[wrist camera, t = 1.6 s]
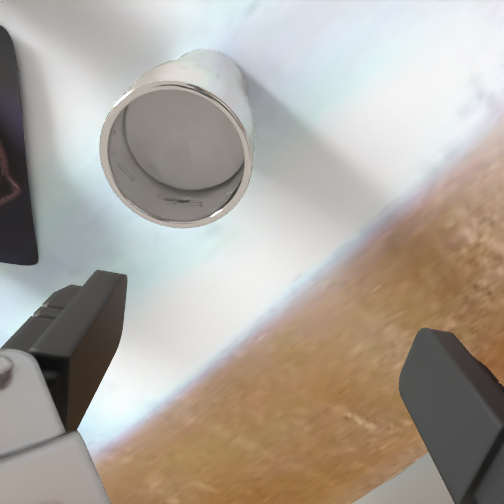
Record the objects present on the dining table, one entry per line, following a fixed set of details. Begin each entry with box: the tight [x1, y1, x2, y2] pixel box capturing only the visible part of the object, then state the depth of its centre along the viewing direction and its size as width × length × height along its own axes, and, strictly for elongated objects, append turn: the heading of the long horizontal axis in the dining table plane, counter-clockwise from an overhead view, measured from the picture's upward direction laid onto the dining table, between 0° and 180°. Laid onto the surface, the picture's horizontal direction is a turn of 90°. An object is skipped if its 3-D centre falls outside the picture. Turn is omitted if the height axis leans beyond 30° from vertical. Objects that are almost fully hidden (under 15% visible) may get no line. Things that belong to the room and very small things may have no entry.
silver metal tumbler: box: [100, 49, 256, 228], centre depth 24 cm, size 7×7×15 cm
